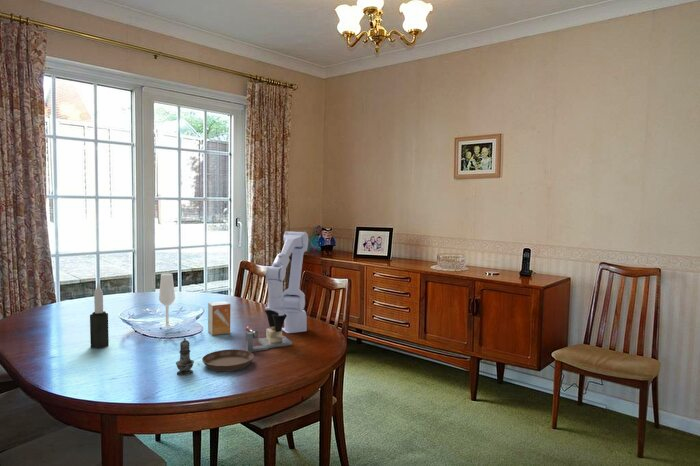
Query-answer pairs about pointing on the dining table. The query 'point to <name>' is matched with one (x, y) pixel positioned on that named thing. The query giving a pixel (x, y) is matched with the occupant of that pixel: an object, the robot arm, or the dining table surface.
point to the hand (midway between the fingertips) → (275, 328)
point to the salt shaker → (184, 359)
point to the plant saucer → (227, 360)
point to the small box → (219, 317)
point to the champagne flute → (167, 294)
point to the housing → (273, 335)
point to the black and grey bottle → (99, 322)
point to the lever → (255, 334)
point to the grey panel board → (264, 343)
